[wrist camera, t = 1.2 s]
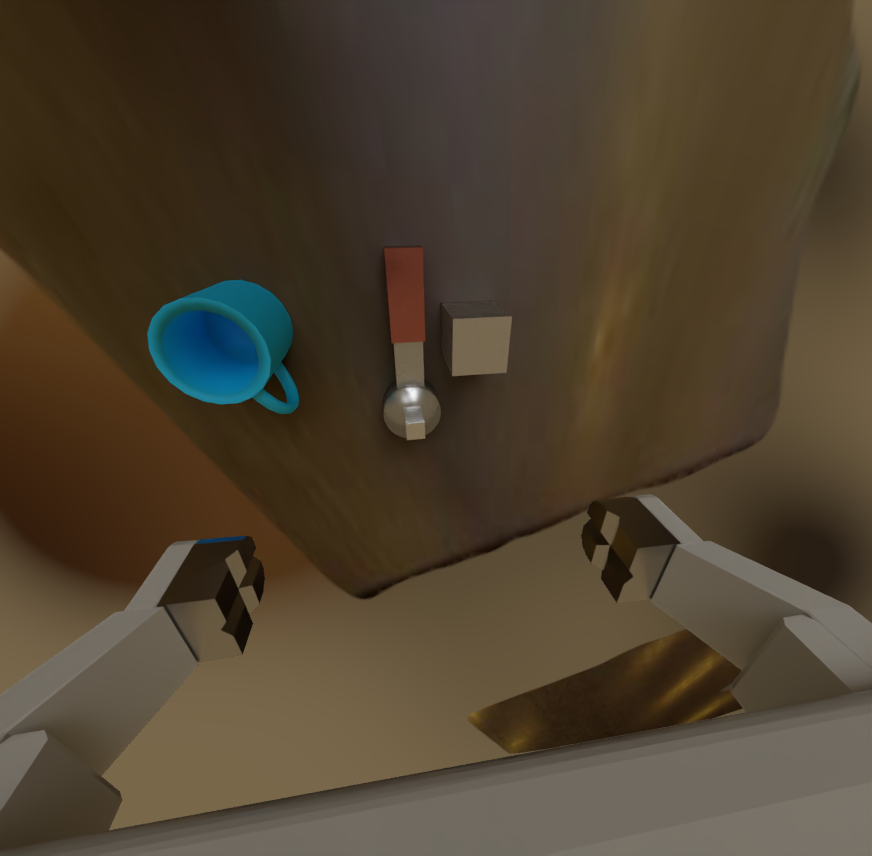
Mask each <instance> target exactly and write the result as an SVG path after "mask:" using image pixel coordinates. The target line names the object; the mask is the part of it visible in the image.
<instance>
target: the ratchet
mask: <svg viewBox="0 0 872 856" xmlns="http://www.w3.org/2000/svg"><path fill="white" fill-rule="evenodd" d="M384 255H385V268H386V280H387V293H388V306H389V319H390V332H391V342H392V343H393V345H394V358H395V371H396V381H395V382H393V383H392V384H391V385H390V386H389V387H388V388H387V390H386V392H385V394H384V399H383V407H384V420H385V423H386V425H387V427H388V428H389V429H390V430H391V431H392V432H393V433H394V434H396V435H398V436H400V437H403V438H407V440H414V439H425V435H427V434H428V433H430V432H431V431H432V430H433V429H434V428H435V427H436V426H437V424H438V422H439V420H440V416H441V408H440V404H439V401H438V398H437V395H436V392H435V390H434V388H433V387H432V386H431V385H430V384H429V383H428V382H427V381H425V380H424V360H423V342H425V310H424V273H423V247H422V246H420V245H416V246H384Z"/></svg>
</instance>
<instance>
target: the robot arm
mask: <svg viewBox="0 0 872 856" xmlns="http://www.w3.org/2000/svg"><path fill="white" fill-rule="evenodd" d="M587 513H588V515H589V517H590V518H591V519H590V520H589V521H588V522H587V523H586V524H585V525H584V526H583V530H582V534H581V538H582V546H583V549H584V551H585V554H586V556H587V558H588V559H589V561H590V562H591V564H593V565H595V566H596V567H598V568H599V569H601V570H602V573H601V580H602V581H603V583H604V584H605V586H606V587H607V589H608V590H609V592H610V594H611V595H612V597H613V598H614V600H615V601H616V603H624V602H633V601H643V600H651V602H652V603H653V604H655V605H656V606H657V607H659V608H660V609H661V610H663V611H664V612H665V613H667V614H668V615H669V616H671V617H672V618H673V619H674V620H676V621H677V622H678V623H680V624H681V625H682V626H684V627H685V628H686V629H688V630H689V631H690V632H692V633H693V634H694V635H696V636H697V637H698V638H700V639H701V640H702V641H704V642H705V643H706V644H708V645H709V646H710V647H711V648H713V649H714V650H715V651H717V652H718V653H719V654H721V655H722V656H723V657H725V658H726V659H727V660H729V661H730V662H731V663H733V664H734V665H735V666H737V667H738V668H739V669H741V670H742V672H741V673H740V674H739V675H738V677H737V678H736V679H735V681H734V682H733V683H732V685H731V693H732V694H733V696H734V697H735V698H736V700H737V701H738V702H739V704H740V705H741V706H742V708H743V709H744V710H745V712H746V713H741V714H735V715H730V716H724V717H719V718H714V719H708V720H703V721H697V722H692V723H687V724H681V725H676V726H670V727H665V728H660V729H654V730H649V731H643V732H638V733H632V734H627V735H622V736H616V737H611V738H605V739H600V740H595V741H589V742H584V743H578V744H573V745H568V746H562V747H557V748H551V749H546V750H541V751H535V752H530V753H525V754H519V755H514V756H508V757H503V758H497V759H492V760H486V761H481V762H476V763H470V764H465V765H459V766H454V767H449V768H443V769H438V770H432V771H427V772H422V773H417V774H411V775H405V776H400V777H395V778H390V779H384V780H378V781H373V782H368V783H362V784H357V785H351V786H346V787H341V788H335V789H330V790H325V791H319V792H314V793H308V794H303V795H298V796H292V797H287V798H281V799H276V800H271V801H265V802H260V803H254V804H249V805H243V806H238V807H233V808H227V809H222V810H217V811H211V812H206V813H201V814H195V815H189V816H184V817H179V818H173V819H168V820H163V821H157V822H152V823H146V824H141V825H135V826H130V827H125V828H119V829H114V830H109V829H110V826H111V824H112V822H113V820H114V818H115V815H116V813H117V811H118V809H119V806H120V804H121V802H122V797H121V794H120V791H119V790H118V789H116V788H115V787H114V786H113V785H111V784H110V783H109V782H108V781H107V780H105V779H104V778H103V777H102V775H103V774H104V772H105V771H106V770H107V769H108V768H109V767H110V766H111V764H112V763H113V762H114V761H115V760H116V759H117V758H118V757H119V755H120V754H121V753H122V752H123V751H124V750H125V748H126V747H127V746H128V745H129V744H130V743H131V742H132V741H133V739H134V738H135V737H136V736H137V735H138V734H139V733H140V731H141V730H142V729H143V728H144V727H145V726H146V724H147V723H148V722H149V721H150V720H151V719H152V717H153V716H154V715H155V714H156V713H157V712H158V711H159V710H160V708H161V707H162V706H163V705H164V704H165V703H166V701H167V700H168V699H169V698H170V697H171V696H172V695H173V694H174V692H175V691H176V690H177V689H178V688H179V687H180V685H181V684H182V683H183V682H184V681H185V680H186V679H187V678H188V676H189V675H190V674H191V673H192V672H193V671H194V670H195V668H196V667H197V666H198V662H203V661H208V660H214V659H221V658H227V657H233V656H239V655H243V652H244V649H245V646H246V643H247V640H248V637H249V634H250V631H251V628H252V625H253V622H252V620H251V617H250V615H249V614H250V613H251V612H252V611H253V610H254V609H255V608H256V607H257V606H258V605H259V604H260V601H261V598H262V595H263V591H264V581H265V576H264V568H263V565H262V563H261V561H260V560H258V559H257V558H255V557H254V556H253V554H254V551H255V549H256V546H255V544H254V541H253V539H252V537H249V536H239V537H226V538H213V539H201V540H194V541H181V542H180V541H179V542H175V543H174V544H172V545H170V546H169V547H168V548H167V550H166V551H165V553H164V554H163V555H162V557H161V558H160V560H159V561H158V563H157V564H156V566H155V567H154V569H153V570H152V571H151V573H150V574H149V576H148V577H147V579H146V580H145V582H144V583H143V584H142V586H141V587H140V589H139V590H138V592H137V593H136V595H135V596H134V597H133V599H132V600H131V602H130V603H129V605H128V606H127V607H126V609H125V610H124V611H122V612H116V613H114V614H112V615H111V616H110V617H108V618H107V619H105V620H104V621H103V622H101V623H100V624H98V625H97V626H96V627H94V628H93V629H92V630H90V631H89V632H87V633H86V634H84V635H83V636H82V637H80V638H79V639H78V640H76V641H75V642H73V643H72V644H71V645H69V646H68V647H66V648H65V649H64V650H62V651H61V652H59V653H58V654H57V655H56V656H54V657H52V658H51V659H50V660H48V661H47V662H46V663H44V664H43V665H41V666H40V667H38V668H37V669H36V670H34V671H33V672H32V673H30V674H29V675H27V676H26V677H25V678H23V679H22V680H20V681H19V682H18V683H16V684H15V685H13V686H12V687H11V688H9V689H8V690H6V691H5V692H4V693H3V694H1V695H0V856H872V624H871V623H870V622H869V621H868V620H866V619H865V618H864V617H863V616H861V615H860V614H859V613H858V612H856V611H855V610H854V609H853V608H851V607H850V606H848V605H846V604H844V603H842V602H839V601H838V600H835V599H833V598H831V597H829V596H827V595H824V594H823V593H820V592H818V591H816V590H814V589H812V588H809V587H808V586H805V585H803V584H801V583H799V582H797V581H795V580H792V579H790V578H788V577H786V576H784V575H782V574H779V573H777V572H775V571H773V570H771V569H769V568H767V567H765V566H762V565H760V564H758V563H756V562H754V561H752V560H750V559H747V558H745V557H743V556H741V555H739V554H737V553H735V552H732V551H730V550H728V549H726V548H724V547H722V546H719V545H717V544H715V543H713V542H711V541H705V542H704V541H703V540H701V538H699V537H698V536H697V535H696V534H695V533H694V532H693V531H692V530H691V529H690V528H689V527H688V526H687V525H686V524H684V522H683V521H681V520H680V519H679V518H678V517H677V516H676V515H675V514H674V513H673V512H672V511H671V510H670V509H669V508H668V507H667V506H665V504H663V503H662V502H661V501H660V500H659V499H658V498H657V497H655V496H653V495H651V494H647V495H638V496H631V497H621V498H612V499H603V500H594V501H592V502H591V503H590V505H589V507H588V511H587Z"/></svg>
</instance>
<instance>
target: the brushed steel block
mask: <svg viewBox="0 0 872 856" xmlns="http://www.w3.org/2000/svg"><path fill="white" fill-rule="evenodd" d="M511 322H512V316H511V315H510V314H508V313H507V312H506V311H504V310H503V309H501V308H500V307H499V306H497V305H496V304H495V303H493V302H492V301H473V302H448V303H441V353H442V355H443V357H444V360H445V362H446V364H447V366H448V368H449V370H450V373H451V375H452V376H462V375H477V374H493V373H506V372H507V362H508V352H509V342H510V332H511Z"/></svg>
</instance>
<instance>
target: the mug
mask: <svg viewBox="0 0 872 856" xmlns="http://www.w3.org/2000/svg"><path fill="white" fill-rule="evenodd" d="M147 334H148V343H149V351H150V353H151V355H152V358H153V360H154V362H155V364H156V366H157V368H158V369H159V370H160V371H161V373H162V374H163V375H164V376H165V377H166V378H167V380H168V381H169V382H170V383H172V384H173V385H174V386H176V387H177V388H178V389H180V390H181V391H183V392H184V393H185V394H188V395H190V396H192V397H195V398H197V399H199V400H202V401H205V402H210V403H216V404H232V403H240V402H242V401H245V400H247V399H250V398H253V399H254V400H256V401H257V402H258V403H260V404H261V405H263V406H264V407H266V408H267V409H269V410H271V411H274V412H276V413H279V414H290V413H292V412H293V411H294V410H295V409H297V408H298V406H299V395H298V391H297V387H296V385H295V383H294V381H293V379H292V377H291V376H290V374H289V372H288V371H287V369H286V368H285V366H284V365H283V364H282V362H281V361H282V360H283V359H284V357H285V356H286V354H287V352H288V350H289V348H290V346H291V344H292V338H293V327H292V323H291V319H290V316H289V314H288V313H287V311H286V309H285V307H284V306H283V304H282V303H281V302H280V301H279V300H278V299H277V298H276V297H275V296H274V295H273V294H272V293H271V292H269V291H268V290H266V289H264V288H263V287H261V286H259V285H257V284H255V283H251V282H247V281H243V280H228V281H223V282H221V283H218V284H216V285H213V286H211V287H208V288H206V289H203V290H201V291H198V292H196V293H193V294H190V295H188V296H185V297H183V298H180V299H178V300H176V301H173V302H171V303H169V304H166V305H164V306H163V307H162V308H161V309H160V310H159V311H158V312H157V313H156V314H155V315H154V317H153V318H152V321H151V324H150V327H149V330H148V333H147ZM273 373H275V375H276V376H277V378H278V379H279V381H280V383H281V385H282V387H283V389H284V391H285V393H286V398H287V403H284V402H281V401H279V400H277V399H276V398H275V397H273V396H272V395H270V394H269V393H268V392H266V391H265V390H264V389H263V388H264V386H265V385H266V383H267V382H268V380H269V379H270V377H271V376H272V375H273Z"/></svg>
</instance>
